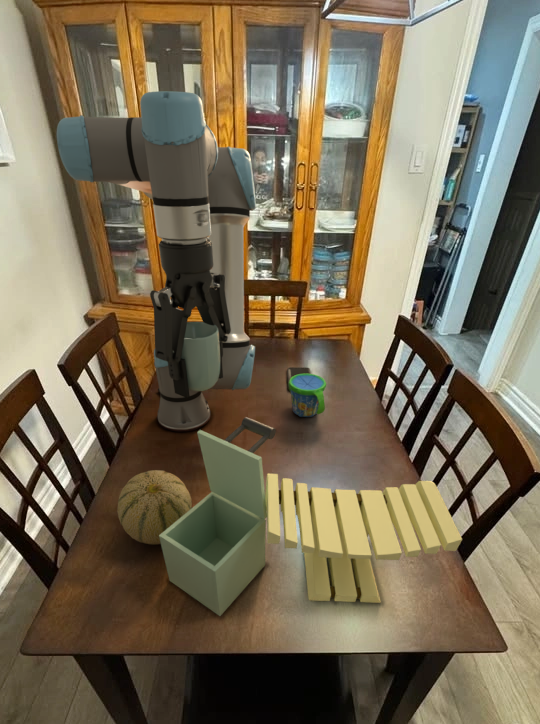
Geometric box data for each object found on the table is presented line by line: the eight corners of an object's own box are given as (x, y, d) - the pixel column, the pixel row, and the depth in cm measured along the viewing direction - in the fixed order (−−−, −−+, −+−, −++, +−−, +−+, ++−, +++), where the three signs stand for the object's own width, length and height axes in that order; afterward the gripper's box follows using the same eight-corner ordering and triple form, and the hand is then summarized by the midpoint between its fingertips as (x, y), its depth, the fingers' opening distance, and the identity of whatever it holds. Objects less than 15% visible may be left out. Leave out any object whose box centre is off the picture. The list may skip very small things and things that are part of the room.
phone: (288, 387, 134) (287, 367, 146) (288, 391, 135) (287, 370, 147) (312, 388, 134) (309, 367, 146) (312, 391, 135) (309, 370, 146)
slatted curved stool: (403, 537, 87) (429, 472, 76) (426, 604, 75) (462, 539, 64) (261, 531, 86) (267, 465, 75) (261, 598, 74) (268, 531, 63)
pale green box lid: (258, 460, 62) (292, 426, 68) (196, 432, 68) (232, 403, 73) (264, 519, 73) (293, 486, 78) (210, 490, 78) (240, 461, 83)
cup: (214, 399, 69) (210, 340, 63) (170, 394, 70) (161, 336, 64) (227, 378, 75) (224, 323, 69) (186, 374, 76) (180, 319, 70)
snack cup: (333, 421, 121) (337, 390, 115) (301, 428, 118) (303, 397, 112) (308, 396, 132) (311, 367, 126) (278, 403, 129) (279, 373, 123)
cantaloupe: (153, 499, 95) (142, 446, 86) (208, 519, 91) (202, 466, 81) (109, 544, 85) (90, 490, 76) (168, 569, 80) (156, 515, 71)
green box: (220, 616, 72) (215, 571, 64) (169, 580, 78) (158, 535, 70) (265, 565, 81) (265, 519, 73) (216, 536, 87) (212, 491, 79)
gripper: (146, 255, 50) (171, 417, 64) (250, 231, 63) (252, 369, 77) (107, 247, 53) (139, 402, 68) (213, 226, 67) (222, 359, 81)
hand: (199, 384), depth 72 cm, fingers closed on cup, 8 cm apart
